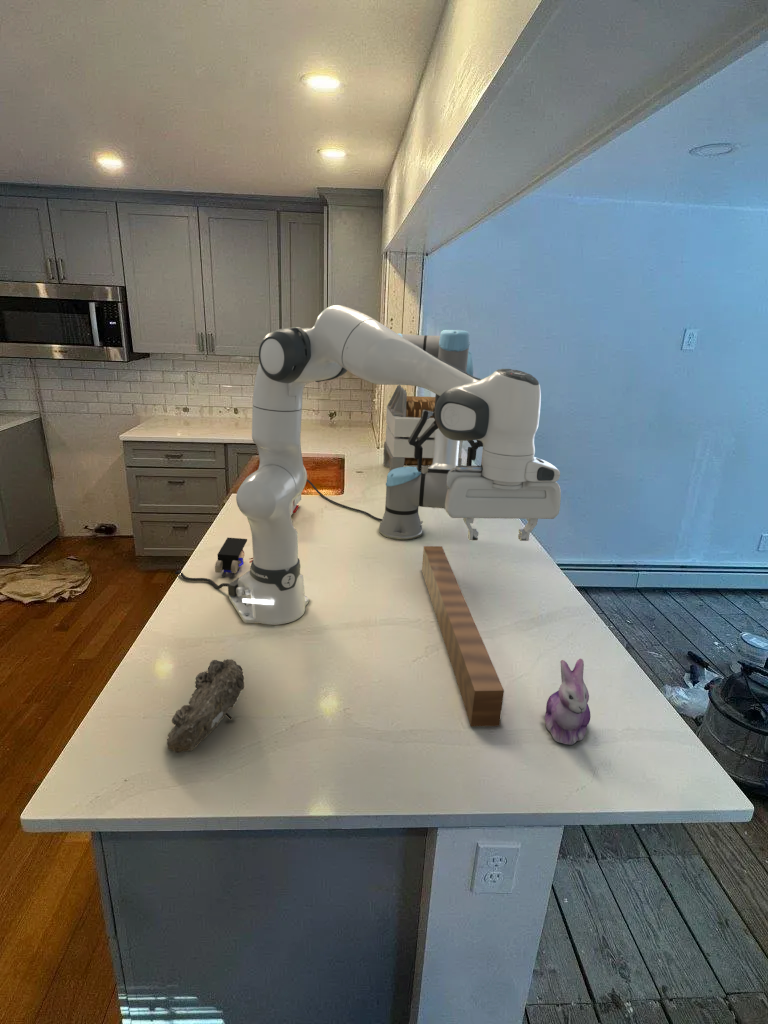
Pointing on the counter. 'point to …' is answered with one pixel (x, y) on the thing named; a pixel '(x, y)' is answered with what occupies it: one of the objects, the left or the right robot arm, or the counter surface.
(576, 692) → the figurine
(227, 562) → the figurine character
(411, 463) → the white boxy crate
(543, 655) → the counter surface
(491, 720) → the post
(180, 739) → the fossil
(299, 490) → the left robot arm
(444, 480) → the right robot arm
